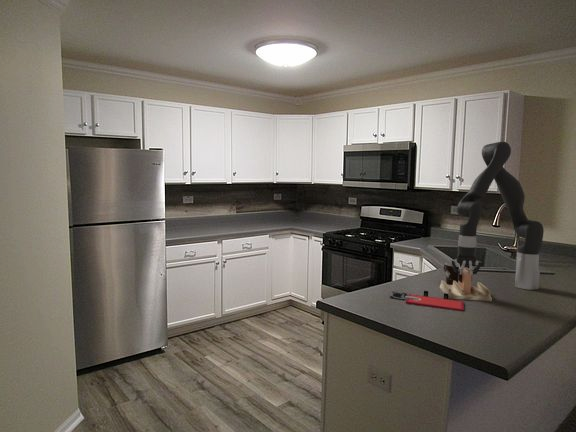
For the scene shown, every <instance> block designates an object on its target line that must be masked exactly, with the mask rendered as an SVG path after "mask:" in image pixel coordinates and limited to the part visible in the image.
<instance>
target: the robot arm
mask: <svg viewBox="0 0 576 432" xmlns="http://www.w3.org/2000/svg"><path fill="white" fill-rule="evenodd" d="M511 153H512V147H511V145H510V144H509V143H508V142H507V141H497V142H493V143H488V144H486V145H484V146H483V147H482V149H481V156H482V159H483V162H484V163H485V165H486V167H485V169H484V170H483V171H481V173H480V174H479V175H477V177H476V178H475V179H474V180H473V182H472V184H471V186H470V188H469V191H468V192H467V193H466V194H465V195H464V196H463V197H462V199H460V200H459V202H458V204H457V207H456V213H457V215H458V216H460V217H462V218H464V217H465V218H468V220H467V221H464V222H461V223H460V225H459V232H458V233H459V235H458V241H457V256H456V258H455V259H451V260H450V262H449V263H451V264H452V267H453V269H454V271H455V272H456V273H458V280H459V282H460V283H462V273H463V270H464V269H465V268H467V271H468V272H470V273H471V274H472V276H473V275H477V274H478V272H479V270H480V269H481V267H482V265H483V262H482V261H481V260H477V257H476V254H477V231H478V230H477V229H478V226H479V222H480V219H481V217H482V213H483V206H482V204H481V203H480V201H483V200H484V199H485V198H486V195H487V192H488V191H489V188H490V187H491V184H492V182H493V181H494V182H495V184H496V186H497V188H498V191H499V193H500V196H501V198H502V201H503V203H504V204H505V207H506V208H507V211H508V214H509V217H510V220H511V223H512V226H513V229H514V232H515V234H516V235H517V236H518V237H519V238H522V239H525V240H524V244H521V245H518V246H517V247H516V248H517V249H516V250H517V251H516V263H515V265H516V266H515V277H514V278H515V280H514V287H516V288H519V289H522V290H539V288H540V287H539V285H540V276H541V275H540V271H541V270H540V269H539V262H540V261H539V259H540V258H539V257H540V251H541V249H542V246H543V239H544V232H545V231H544V226H543V224H542V223H541V222H539V221H537V220H531V219H528V216H527V215H526V213H525V209H524V204H525V196H526V195H525V192H524V190H523V187H522V185H521V183H520V181H519V180H518V179H517V178H516V177H515V176H513V174H511V173H510V172H509V171H508V170H506V169H505V167H504V166H505V165H506V163H507V162H508V160H509V158H510V157H511ZM456 263H458V264H459V270H457V267H456V265H455V264H456ZM474 264H475V266H474ZM473 266H474V269H473ZM472 281H473V278H472V279H471V283H472Z"/></svg>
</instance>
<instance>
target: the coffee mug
mask: <svg viewBox="0 0 576 432" xmlns="http://www.w3.org/2000/svg"><path fill="white" fill-rule="evenodd" d="M455 265H456V267H457V270H459V263H458V262H456V264H455ZM443 271H444V272H445V283H446V284H447V285H453V281H456V282H457V283H458V273H456V272H455V271H454V269H453V267H452V264H451V262H446V263H444V265H443Z"/></svg>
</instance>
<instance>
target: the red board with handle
mask: <svg viewBox="0 0 576 432" xmlns="http://www.w3.org/2000/svg"><path fill="white" fill-rule="evenodd" d="M448 295H449V294H447V293H444V292H443V297H442V298H441V297H434V296H433V297H432V296H429V290H423V295H418V294H412V293H406V292H398V291H391V294H390V295H389V298H393V299H401V300H404V301H405V304H406V303H408V304H407V305H412V304H415V305H414V306H420V305H421V307H427V306H429V307H428V308H435V307H436V308H437V309H444V310H449V311H450V310H451V311H452V310H453V311H456V312H457V311H459V312H465V311H464V310H465V307H464V306H465V305H464V303H465V302H464V301H463V300H458V299H448Z"/></svg>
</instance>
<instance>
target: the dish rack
mask: <svg viewBox="0 0 576 432" xmlns="http://www.w3.org/2000/svg"><path fill="white" fill-rule="evenodd" d="M476 284H477V285H473V284H471V294H464V289H463V288H462V287H461V286H460V285H459V284H458V283H457V282H456V281H453V285H448V284H446V280H443V279H441V281H440V284H439V289H440V290H441V291H442V293H443V294H444V293H447V294H449V295H448V299H449V300H469V301H470V300H471V301H483V302H493V301H492V300H493V297H492V296H491V295H492V291H491V290H490V289H489V288H488V287H487V286H485V285H484V284H483V283H481V282H480V281H477V283H476Z"/></svg>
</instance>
